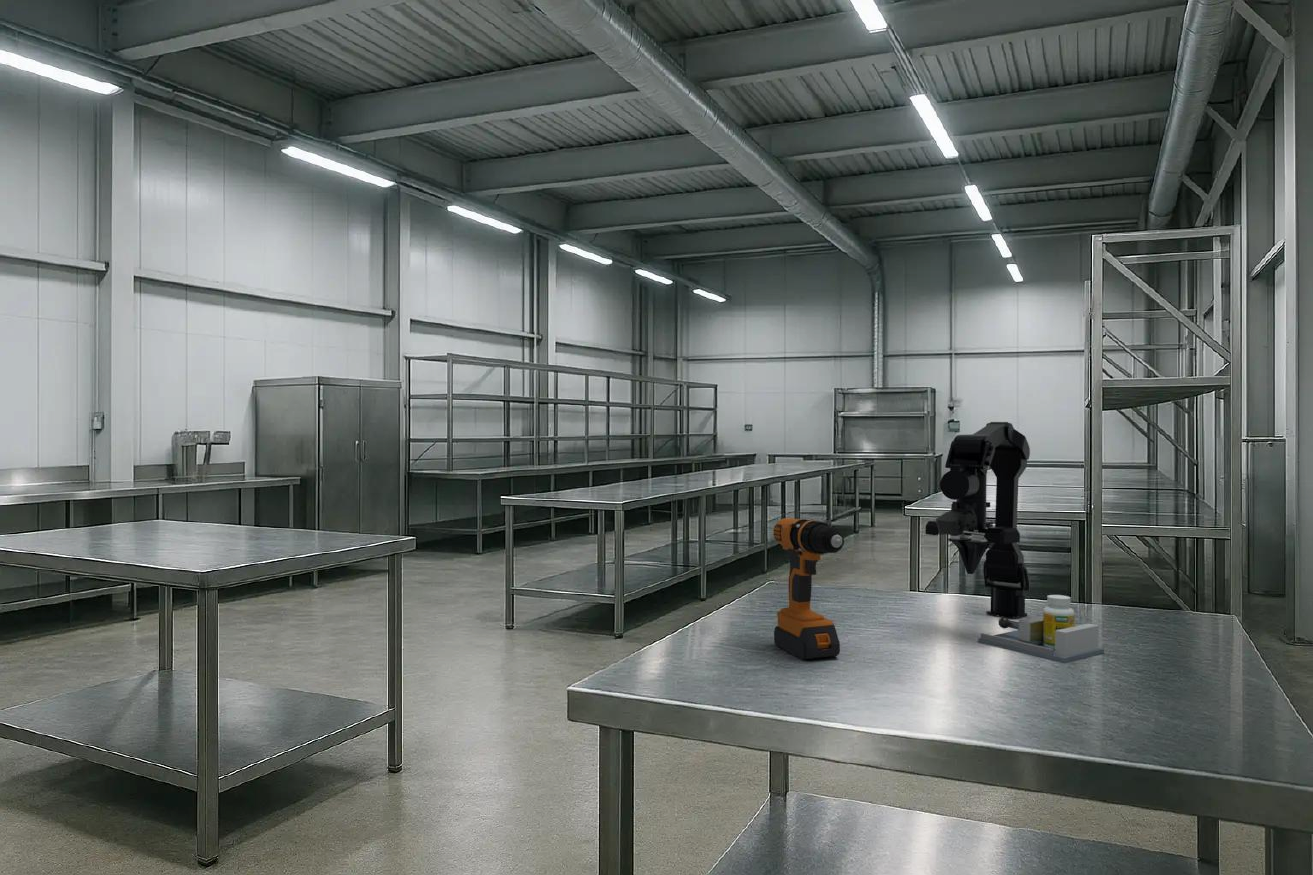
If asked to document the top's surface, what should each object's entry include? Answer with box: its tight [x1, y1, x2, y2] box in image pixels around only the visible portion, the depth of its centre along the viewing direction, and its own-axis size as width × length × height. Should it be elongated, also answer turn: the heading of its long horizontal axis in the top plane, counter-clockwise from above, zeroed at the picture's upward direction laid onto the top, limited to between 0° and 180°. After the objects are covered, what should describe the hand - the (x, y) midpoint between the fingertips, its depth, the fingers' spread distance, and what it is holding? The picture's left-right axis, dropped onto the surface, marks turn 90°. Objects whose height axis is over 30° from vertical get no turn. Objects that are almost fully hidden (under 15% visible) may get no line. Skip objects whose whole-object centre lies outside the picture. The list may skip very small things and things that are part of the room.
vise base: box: [977, 623, 1105, 664], centre depth 169 cm, size 18×13×5 cm
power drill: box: [773, 517, 845, 661], centre depth 163 cm, size 22×7×25 cm, turn 18°
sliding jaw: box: [997, 615, 1044, 645], centre depth 173 cm, size 10×10×4 cm
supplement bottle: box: [1042, 594, 1076, 650], centre depth 166 cm, size 5×5×10 cm
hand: (970, 573), depth 179 cm, fingers closed
